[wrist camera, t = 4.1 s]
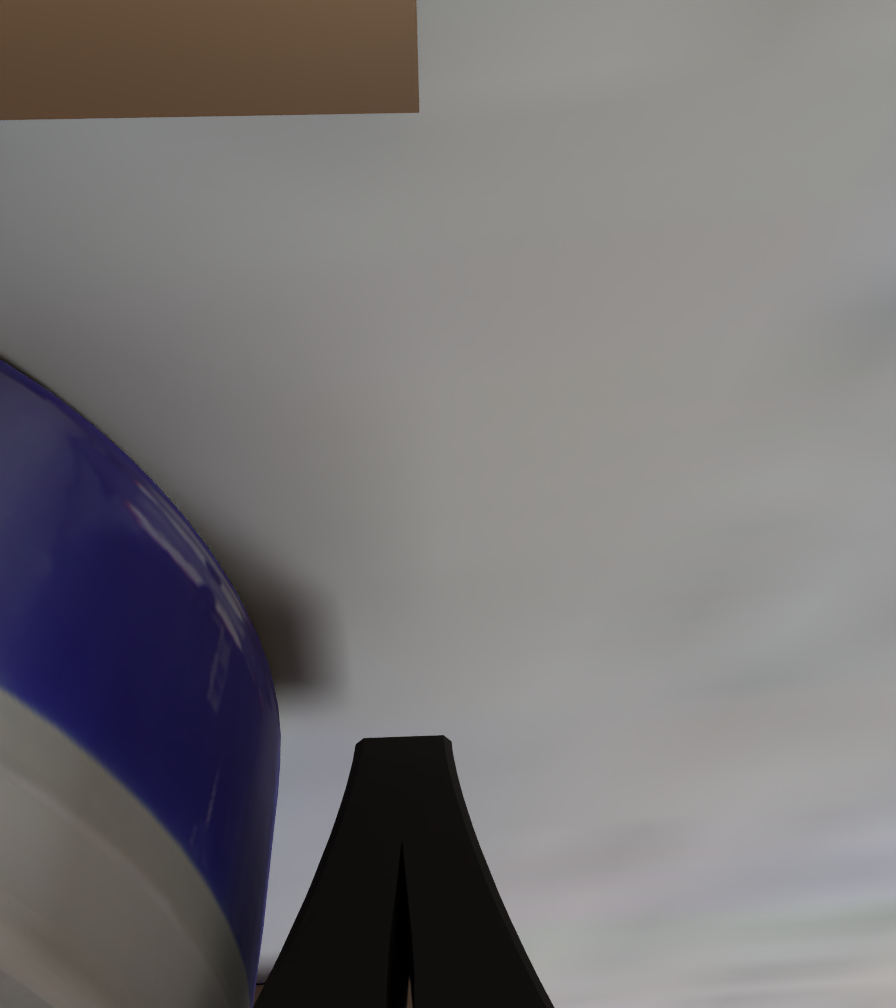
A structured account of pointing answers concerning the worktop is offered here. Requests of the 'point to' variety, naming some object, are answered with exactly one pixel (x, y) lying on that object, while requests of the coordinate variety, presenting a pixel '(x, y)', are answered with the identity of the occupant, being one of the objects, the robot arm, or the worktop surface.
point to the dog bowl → (123, 734)
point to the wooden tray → (207, 61)
